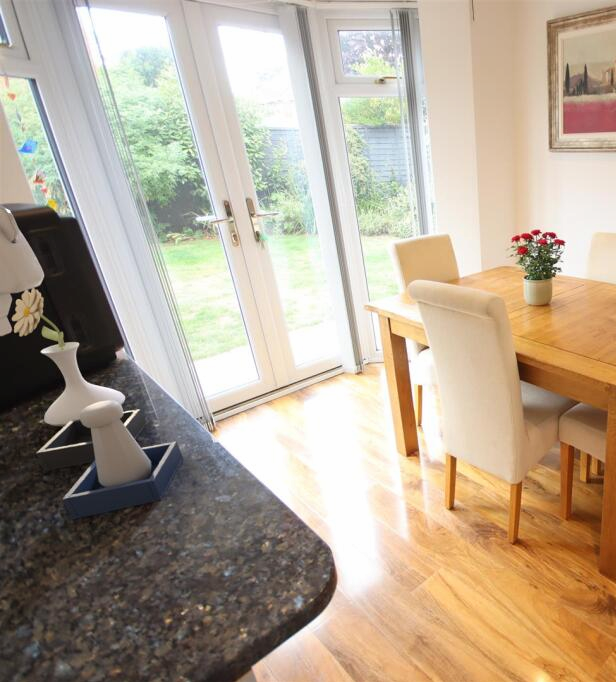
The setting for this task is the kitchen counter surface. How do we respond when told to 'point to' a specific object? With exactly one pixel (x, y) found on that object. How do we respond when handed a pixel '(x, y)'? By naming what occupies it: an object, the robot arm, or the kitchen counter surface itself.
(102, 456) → the salt shaker
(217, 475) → the kitchen counter surface
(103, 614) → the kitchen counter surface
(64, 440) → the tub
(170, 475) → the tub
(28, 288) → the robot arm
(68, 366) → the flower in vase
